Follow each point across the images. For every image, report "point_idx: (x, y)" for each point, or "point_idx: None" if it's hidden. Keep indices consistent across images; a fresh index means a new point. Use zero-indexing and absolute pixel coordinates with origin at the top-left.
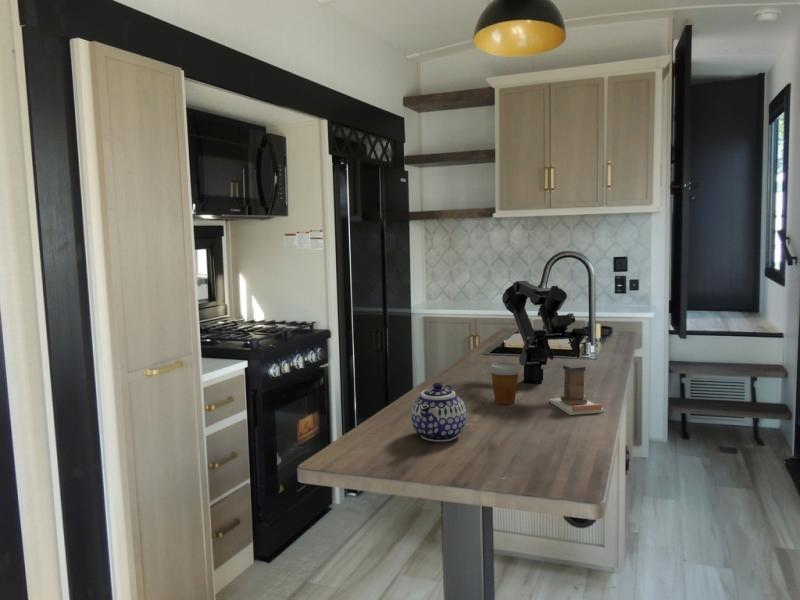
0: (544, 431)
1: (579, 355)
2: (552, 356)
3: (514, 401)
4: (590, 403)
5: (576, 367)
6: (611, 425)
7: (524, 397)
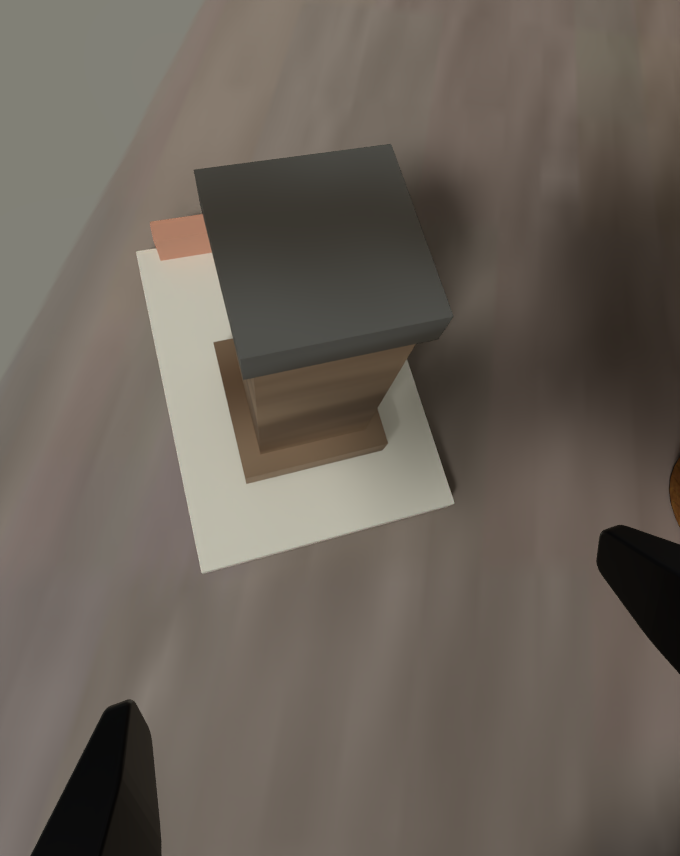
0: (507, 24)
1: (100, 720)
2: (638, 537)
3: (675, 480)
4: (185, 377)
5: (312, 163)
6: (181, 61)
7: (614, 633)
